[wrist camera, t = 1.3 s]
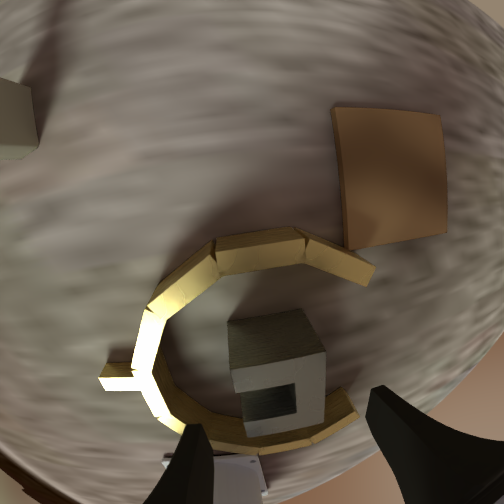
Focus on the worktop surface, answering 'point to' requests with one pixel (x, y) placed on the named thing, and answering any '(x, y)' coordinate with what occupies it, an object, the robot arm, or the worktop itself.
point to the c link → (277, 372)
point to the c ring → (194, 283)
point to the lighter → (16, 121)
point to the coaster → (390, 175)
